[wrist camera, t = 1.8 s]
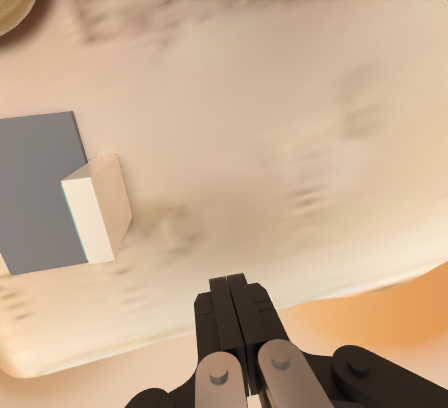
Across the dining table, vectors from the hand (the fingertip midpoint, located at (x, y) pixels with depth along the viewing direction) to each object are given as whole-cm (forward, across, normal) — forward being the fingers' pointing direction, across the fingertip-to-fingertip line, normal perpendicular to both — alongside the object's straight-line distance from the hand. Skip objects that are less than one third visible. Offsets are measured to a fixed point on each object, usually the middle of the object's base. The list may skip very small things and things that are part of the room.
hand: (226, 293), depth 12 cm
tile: (+20, +9, 0) cm, 21 cm away
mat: (+19, +16, 0) cm, 25 cm away
